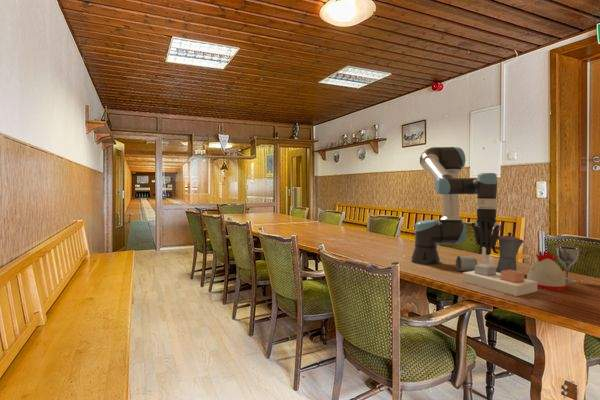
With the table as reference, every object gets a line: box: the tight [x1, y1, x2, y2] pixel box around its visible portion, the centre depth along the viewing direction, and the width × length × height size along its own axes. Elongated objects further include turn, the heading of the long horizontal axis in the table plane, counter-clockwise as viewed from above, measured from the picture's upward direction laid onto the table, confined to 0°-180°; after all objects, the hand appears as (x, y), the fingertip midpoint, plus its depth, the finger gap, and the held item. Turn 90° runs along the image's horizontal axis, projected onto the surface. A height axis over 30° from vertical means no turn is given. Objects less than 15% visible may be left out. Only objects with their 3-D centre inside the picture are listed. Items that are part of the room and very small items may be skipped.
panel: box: [462, 271, 538, 297], centre depth 151 cm, size 24×14×4 cm, turn 28°
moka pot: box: [491, 232, 525, 273], centre depth 174 cm, size 10×15×20 cm, turn 41°
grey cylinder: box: [455, 255, 478, 272], centre depth 180 cm, size 11×8×8 cm
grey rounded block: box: [475, 263, 497, 276], centre depth 156 cm, size 6×6×4 cm
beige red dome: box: [526, 250, 567, 291], centre depth 152 cm, size 14×14×15 cm
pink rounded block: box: [501, 269, 525, 283], centre depth 146 cm, size 6×6×4 cm
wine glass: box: [556, 245, 580, 284], centre depth 160 cm, size 8×8×15 cm
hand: (485, 261), depth 156 cm, fingers closed
